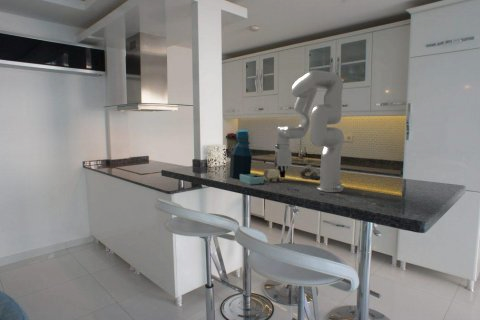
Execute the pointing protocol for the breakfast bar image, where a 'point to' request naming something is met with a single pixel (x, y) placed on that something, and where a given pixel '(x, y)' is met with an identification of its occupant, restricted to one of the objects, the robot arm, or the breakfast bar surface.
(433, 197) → the breakfast bar surface
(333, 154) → the robot arm
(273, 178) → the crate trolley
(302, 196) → the breakfast bar surface
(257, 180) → the bay
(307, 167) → the futuristic pistol
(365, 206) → the breakfast bar surface
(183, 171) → the breakfast bar surface
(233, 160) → the dark teal bottle
